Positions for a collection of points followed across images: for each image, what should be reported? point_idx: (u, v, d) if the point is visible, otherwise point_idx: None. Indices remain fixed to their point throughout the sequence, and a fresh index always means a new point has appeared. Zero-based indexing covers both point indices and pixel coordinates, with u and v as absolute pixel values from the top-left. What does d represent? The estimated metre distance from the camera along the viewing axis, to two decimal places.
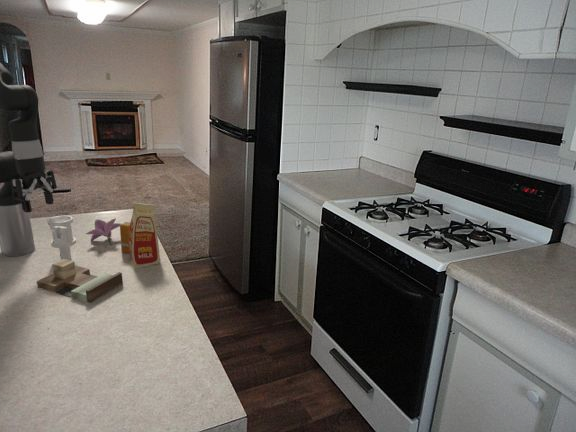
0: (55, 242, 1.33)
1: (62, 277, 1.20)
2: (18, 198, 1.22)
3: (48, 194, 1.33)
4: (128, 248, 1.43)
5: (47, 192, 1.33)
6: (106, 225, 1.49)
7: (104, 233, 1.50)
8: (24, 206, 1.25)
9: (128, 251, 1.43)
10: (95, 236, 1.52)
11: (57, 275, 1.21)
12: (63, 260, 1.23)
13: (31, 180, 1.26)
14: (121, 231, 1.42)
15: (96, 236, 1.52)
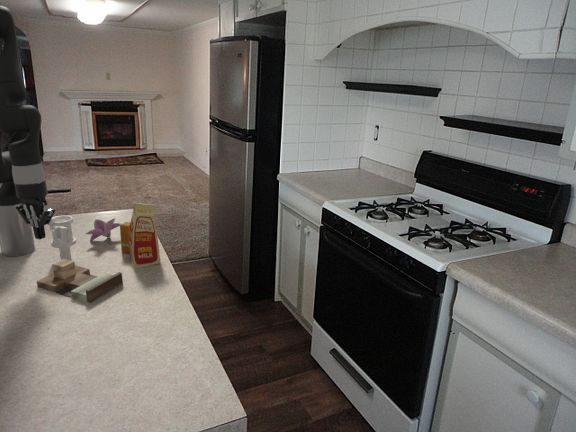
0: (55, 242, 1.33)
1: (62, 277, 1.20)
2: (47, 222, 1.21)
3: None
4: (128, 248, 1.43)
5: None
6: (105, 225, 1.49)
7: (103, 233, 1.50)
8: (43, 232, 1.22)
9: (128, 251, 1.43)
10: (95, 236, 1.52)
11: (57, 275, 1.21)
12: (63, 260, 1.23)
13: None
14: (121, 231, 1.42)
15: (95, 236, 1.52)
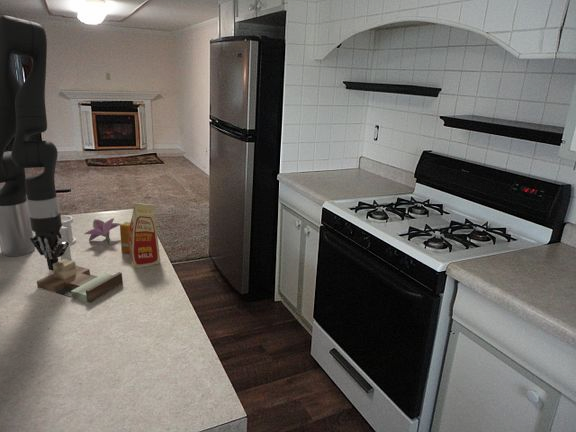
0: None
1: (62, 277, 1.20)
2: (60, 254, 1.22)
3: None
4: (128, 248, 1.43)
5: None
6: (104, 225, 1.50)
7: (102, 233, 1.50)
8: None
9: (128, 251, 1.43)
10: (93, 236, 1.52)
11: (57, 275, 1.21)
12: (64, 260, 1.23)
13: None
14: (121, 231, 1.42)
15: (94, 236, 1.52)
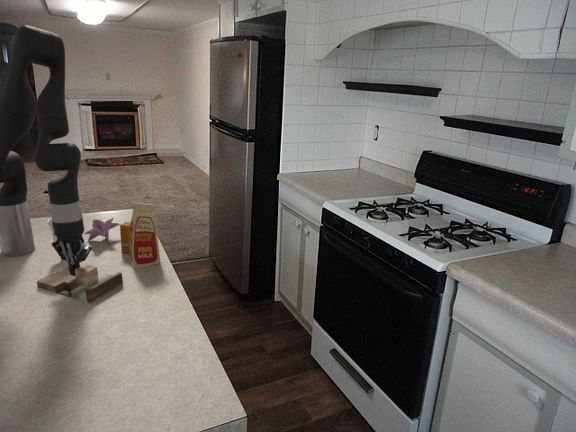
0: None
1: (85, 283, 1.17)
2: (83, 259, 1.19)
3: None
4: (128, 248, 1.43)
5: None
6: (104, 225, 1.50)
7: (102, 233, 1.50)
8: None
9: (128, 251, 1.43)
10: (93, 236, 1.52)
11: (80, 281, 1.18)
12: (86, 265, 1.20)
13: None
14: (121, 231, 1.42)
15: (93, 236, 1.52)
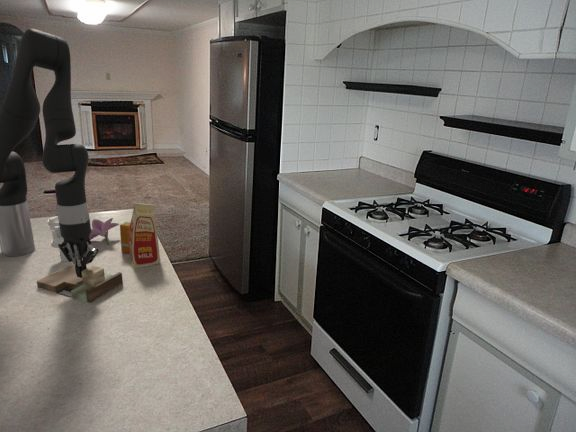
0: (55, 242, 1.33)
1: (92, 285, 1.17)
2: (90, 261, 1.18)
3: None
4: (128, 248, 1.43)
5: None
6: (103, 225, 1.50)
7: (101, 233, 1.50)
8: None
9: (128, 251, 1.43)
10: (92, 236, 1.52)
11: (86, 283, 1.17)
12: (92, 267, 1.19)
13: None
14: (121, 231, 1.42)
15: (93, 236, 1.52)
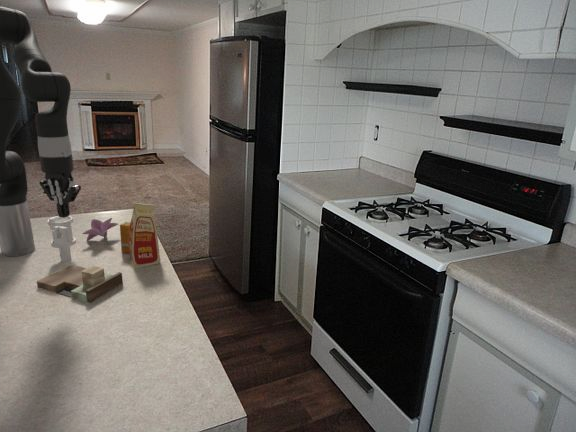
0: (55, 242, 1.33)
1: (92, 285, 1.17)
2: (72, 200, 1.13)
3: None
4: (128, 248, 1.43)
5: None
6: (102, 225, 1.50)
7: (100, 233, 1.50)
8: (67, 209, 1.15)
9: (128, 251, 1.43)
10: (91, 236, 1.52)
11: (86, 283, 1.17)
12: (92, 267, 1.19)
13: None
14: (121, 231, 1.42)
15: (92, 236, 1.52)
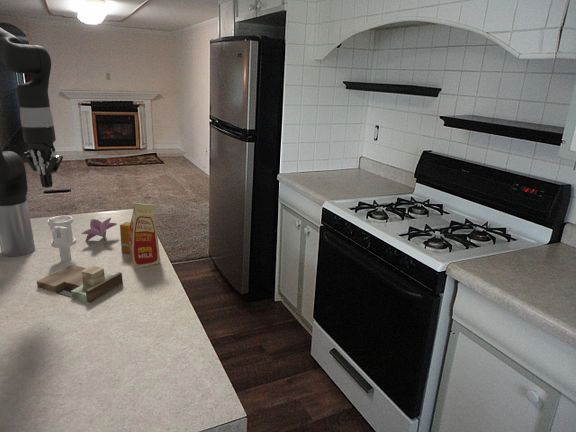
0: (55, 242, 1.33)
1: (92, 285, 1.17)
2: (54, 170, 1.17)
3: None
4: (128, 248, 1.43)
5: None
6: (101, 224, 1.50)
7: (99, 233, 1.50)
8: (50, 180, 1.18)
9: (128, 251, 1.43)
10: (90, 236, 1.52)
11: (86, 283, 1.17)
12: (92, 267, 1.19)
13: None
14: (121, 231, 1.42)
15: (91, 236, 1.52)
